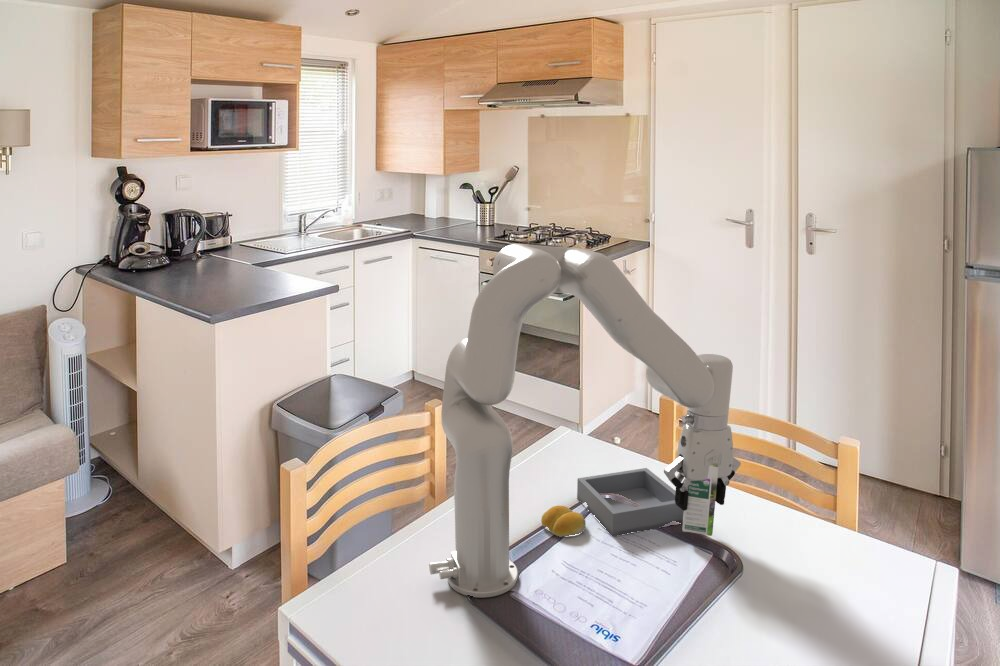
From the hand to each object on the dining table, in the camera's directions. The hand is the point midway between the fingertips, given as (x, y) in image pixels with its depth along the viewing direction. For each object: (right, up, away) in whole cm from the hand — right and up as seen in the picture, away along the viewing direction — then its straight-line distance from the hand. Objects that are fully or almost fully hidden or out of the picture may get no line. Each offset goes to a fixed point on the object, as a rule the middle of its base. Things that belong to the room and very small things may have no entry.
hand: (699, 504), depth 139 cm
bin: (-11, -4, +12) cm, 17 cm away
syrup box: (0, -5, +1) cm, 5 cm away
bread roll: (-26, -7, +6) cm, 28 cm away
